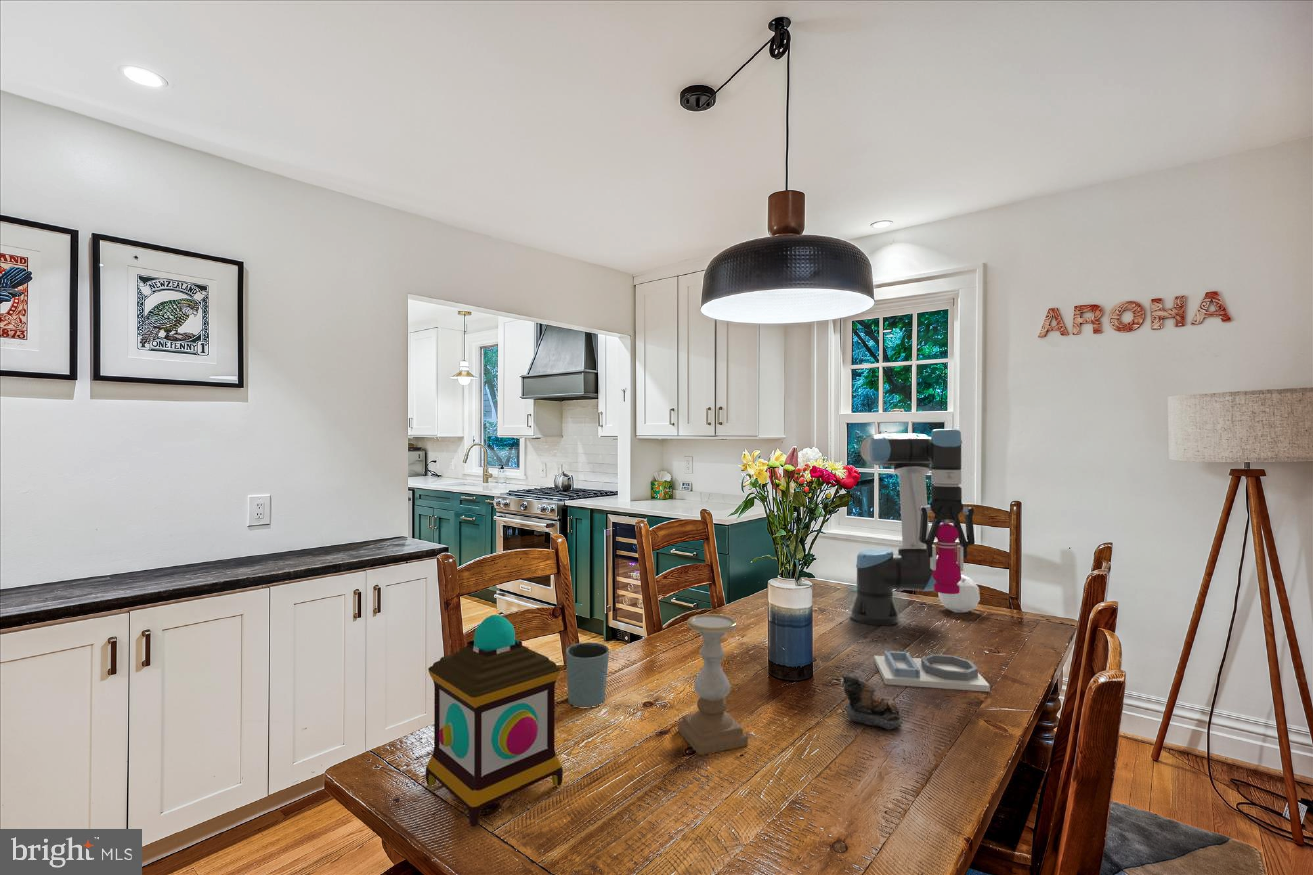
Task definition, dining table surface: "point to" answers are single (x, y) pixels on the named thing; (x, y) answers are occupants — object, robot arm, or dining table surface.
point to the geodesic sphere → (962, 596)
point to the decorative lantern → (493, 718)
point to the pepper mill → (946, 560)
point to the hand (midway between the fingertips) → (946, 569)
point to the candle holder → (712, 692)
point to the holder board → (928, 677)
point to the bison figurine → (869, 704)
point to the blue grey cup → (587, 673)
